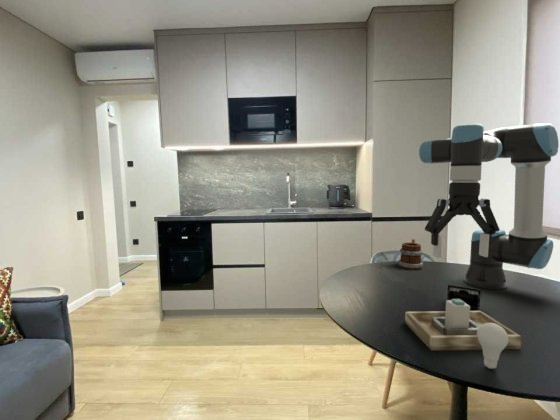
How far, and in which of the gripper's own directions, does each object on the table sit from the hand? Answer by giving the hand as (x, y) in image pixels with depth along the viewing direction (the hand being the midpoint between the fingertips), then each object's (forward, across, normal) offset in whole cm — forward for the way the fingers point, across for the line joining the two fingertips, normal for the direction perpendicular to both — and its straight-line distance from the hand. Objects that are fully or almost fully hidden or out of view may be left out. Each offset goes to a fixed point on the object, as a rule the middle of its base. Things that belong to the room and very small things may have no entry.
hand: (460, 256), depth 90 cm
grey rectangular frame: (+23, 0, +1) cm, 23 cm away
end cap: (+23, -14, -18) cm, 33 cm away
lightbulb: (+23, +2, +18) cm, 29 cm away
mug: (+23, -18, -68) cm, 74 cm away
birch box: (+23, 0, +2) cm, 23 cm away
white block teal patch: (+22, 0, +1) cm, 22 cm away
